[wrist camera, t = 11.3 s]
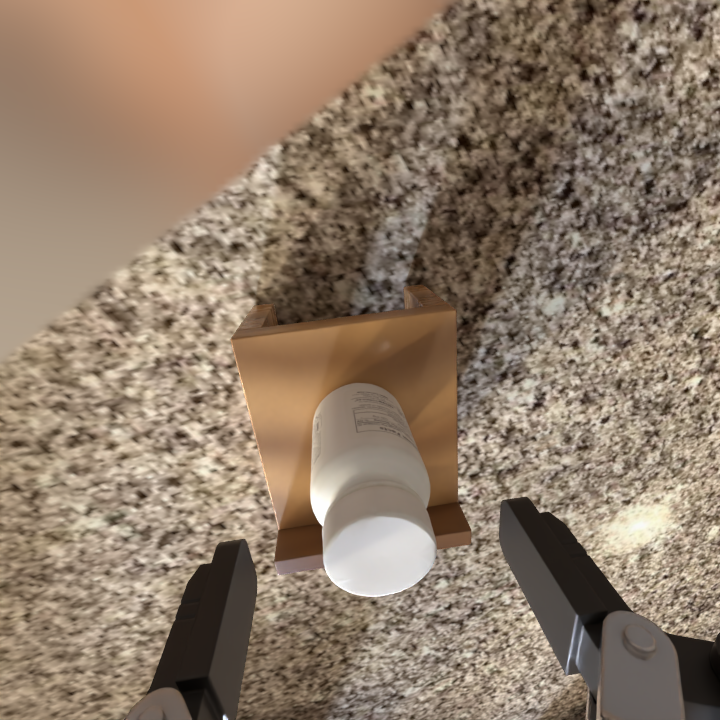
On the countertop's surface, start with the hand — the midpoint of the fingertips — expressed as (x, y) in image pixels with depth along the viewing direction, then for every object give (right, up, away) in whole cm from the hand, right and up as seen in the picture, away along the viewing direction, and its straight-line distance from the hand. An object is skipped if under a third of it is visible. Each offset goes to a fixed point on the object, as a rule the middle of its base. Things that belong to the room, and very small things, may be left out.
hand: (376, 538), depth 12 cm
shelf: (-1, +4, +12) cm, 13 cm away
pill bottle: (-1, +3, +7) cm, 7 cm away
